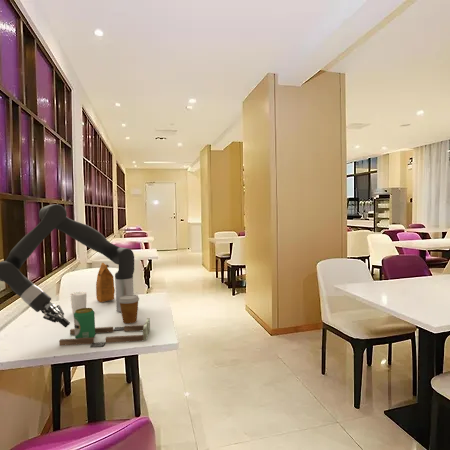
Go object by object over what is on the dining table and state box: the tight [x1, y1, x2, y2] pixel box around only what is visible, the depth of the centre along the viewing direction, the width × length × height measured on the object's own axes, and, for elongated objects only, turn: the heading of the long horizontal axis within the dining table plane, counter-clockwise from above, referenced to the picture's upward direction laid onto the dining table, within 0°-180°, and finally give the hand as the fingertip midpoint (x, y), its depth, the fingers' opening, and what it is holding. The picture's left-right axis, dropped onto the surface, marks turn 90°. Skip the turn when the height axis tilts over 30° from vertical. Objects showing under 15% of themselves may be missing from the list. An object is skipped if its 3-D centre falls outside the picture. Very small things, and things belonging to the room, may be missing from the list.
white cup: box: [69, 291, 88, 315], centre depth 190 cm, size 8×8×10 cm
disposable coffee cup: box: [119, 294, 140, 325], centre depth 171 cm, size 10×10×12 cm
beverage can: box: [73, 307, 96, 339], centre depth 151 cm, size 8×8×12 cm
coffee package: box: [95, 262, 116, 303], centre depth 214 cm, size 10×12×22 cm
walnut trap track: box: [58, 317, 151, 348], centre depth 152 cm, size 22×34×5 cm, turn 95°
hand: (68, 325), depth 150 cm, fingers closed
